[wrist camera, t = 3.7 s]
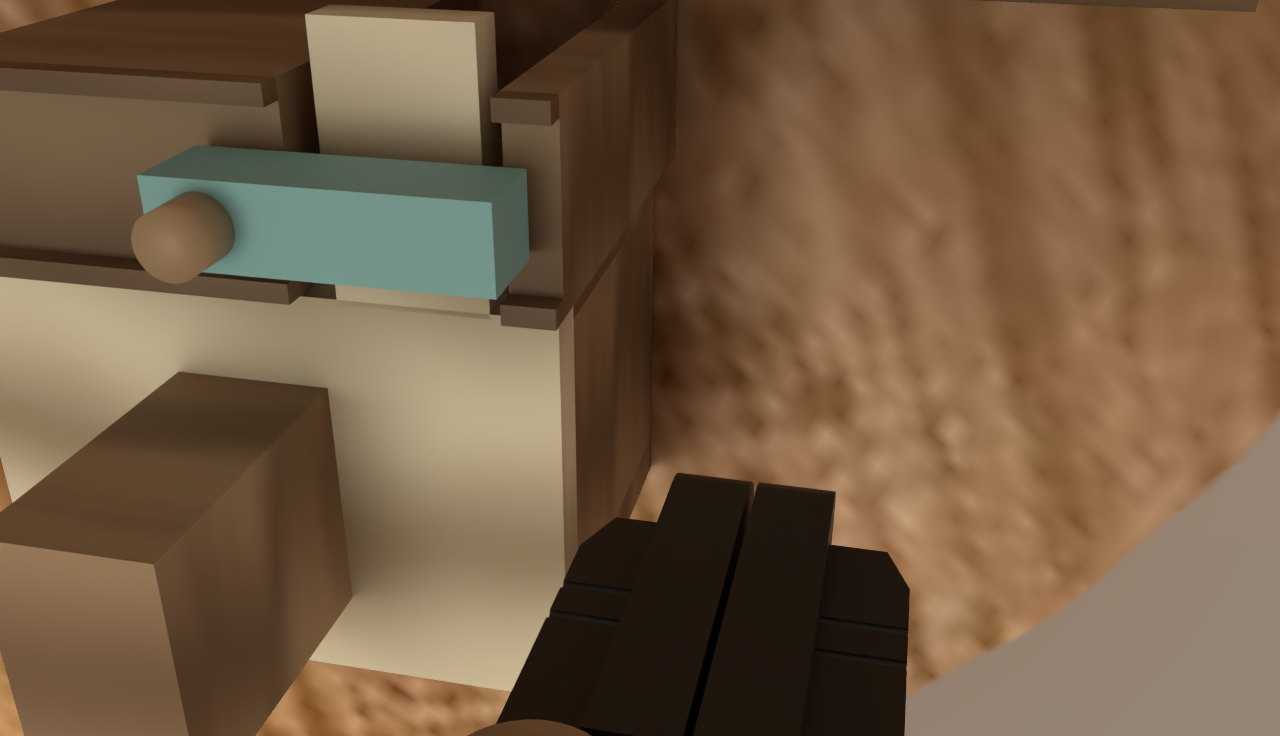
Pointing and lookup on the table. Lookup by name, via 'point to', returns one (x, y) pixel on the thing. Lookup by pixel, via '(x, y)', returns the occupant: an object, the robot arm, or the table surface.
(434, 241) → the teal rectangular piece
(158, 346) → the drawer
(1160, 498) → the table surface
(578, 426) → the mini nightstand
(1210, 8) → the stand
